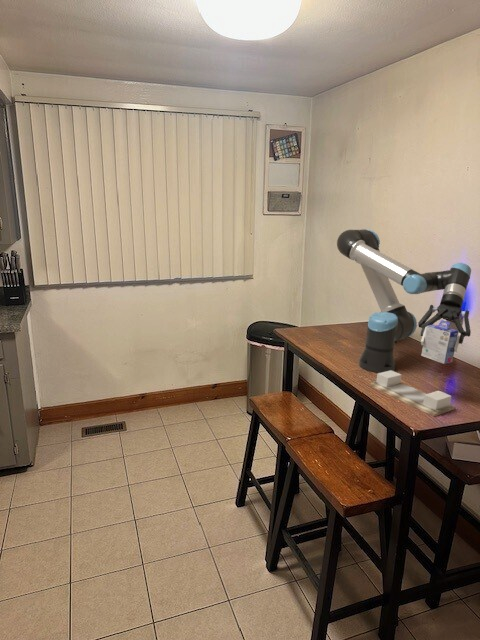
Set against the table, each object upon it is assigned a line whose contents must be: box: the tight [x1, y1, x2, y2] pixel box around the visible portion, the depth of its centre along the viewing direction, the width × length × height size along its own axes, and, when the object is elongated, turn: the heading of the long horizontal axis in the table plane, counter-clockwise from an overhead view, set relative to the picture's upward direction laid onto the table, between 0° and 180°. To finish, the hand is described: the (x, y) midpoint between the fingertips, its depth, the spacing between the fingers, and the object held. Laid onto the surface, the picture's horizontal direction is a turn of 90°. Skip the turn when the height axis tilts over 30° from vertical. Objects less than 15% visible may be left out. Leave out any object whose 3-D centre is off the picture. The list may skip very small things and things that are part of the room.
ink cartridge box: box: [420, 319, 459, 365], centre depth 161 cm, size 10×6×14 cm, turn 34°
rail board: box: [369, 379, 456, 417], centre depth 163 cm, size 28×12×2 cm, turn 32°
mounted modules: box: [375, 370, 452, 410], centre depth 162 cm, size 26×8×4 cm, turn 32°
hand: (438, 346), depth 160 cm, fingers closed on ink cartridge box, 11 cm apart
